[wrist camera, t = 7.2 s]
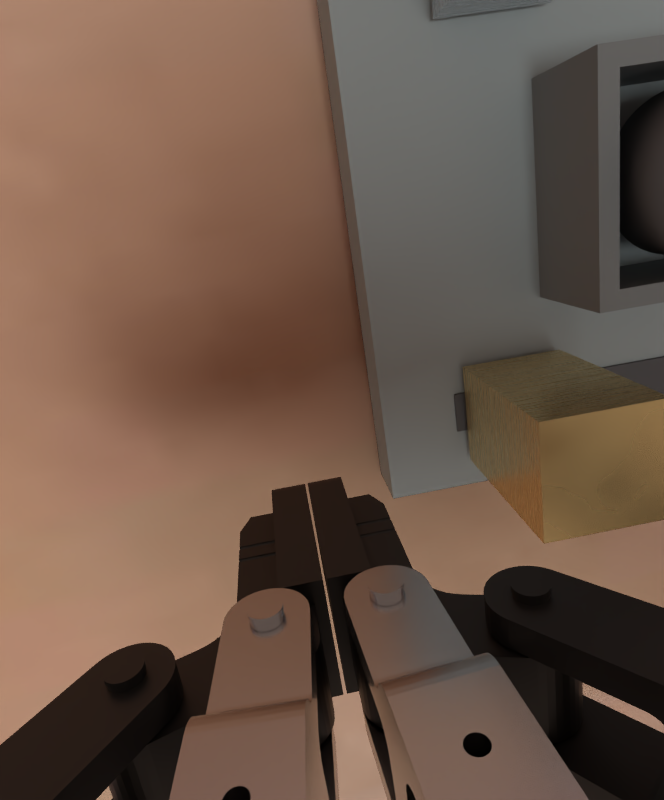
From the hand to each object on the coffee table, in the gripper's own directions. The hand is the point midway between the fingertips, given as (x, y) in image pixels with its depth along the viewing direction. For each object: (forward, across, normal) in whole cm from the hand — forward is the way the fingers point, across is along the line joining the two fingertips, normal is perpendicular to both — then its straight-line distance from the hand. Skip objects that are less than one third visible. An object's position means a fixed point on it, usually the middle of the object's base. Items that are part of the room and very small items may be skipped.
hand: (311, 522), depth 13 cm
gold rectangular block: (+5, -7, 0) cm, 8 cm away
